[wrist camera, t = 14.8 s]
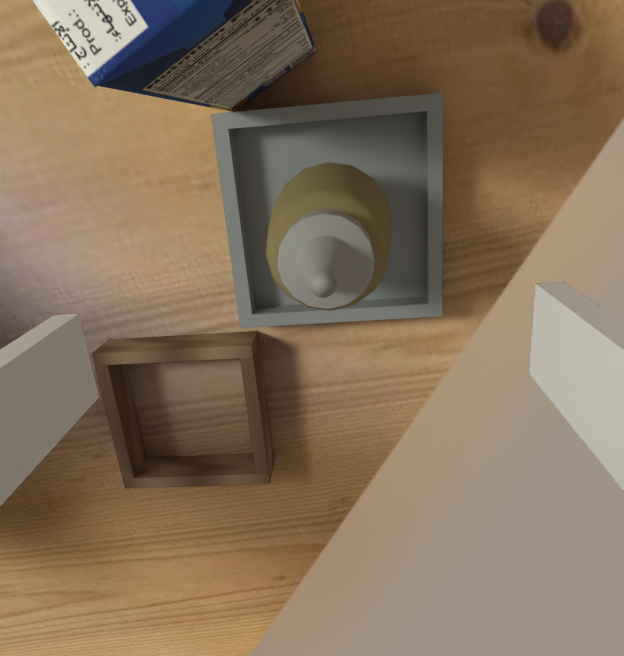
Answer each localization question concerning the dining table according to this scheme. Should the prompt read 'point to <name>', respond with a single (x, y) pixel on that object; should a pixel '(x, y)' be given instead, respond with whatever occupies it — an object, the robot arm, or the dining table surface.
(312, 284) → the squeeze bottle
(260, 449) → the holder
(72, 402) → the robot arm
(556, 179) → the dining table surface
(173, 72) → the beverage box
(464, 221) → the dining table surface
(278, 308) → the tray
